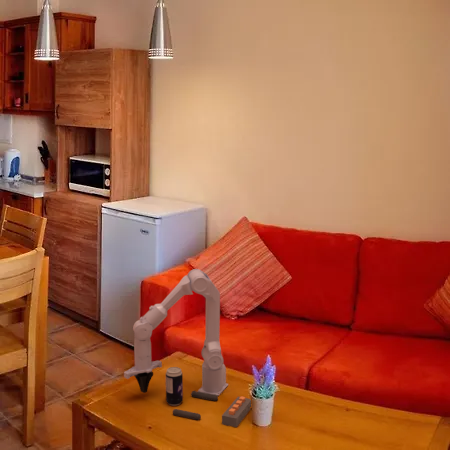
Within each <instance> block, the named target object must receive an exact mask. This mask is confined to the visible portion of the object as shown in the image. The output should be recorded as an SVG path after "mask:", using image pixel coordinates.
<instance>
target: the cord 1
mask: <svg viewBox="0 0 450 450" xmlns="http://www.w3.org/2000/svg"><path fill="white" fill-rule="evenodd" d="M172 414H173V416H176V417H182V418H187V419H190V420H195V421H199V420H201V416H202V415H201V414H200V413H198V412H193V411H192V412H191V411H187V410H182V409H178V408H175V409H173V410H172Z"/></svg>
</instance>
